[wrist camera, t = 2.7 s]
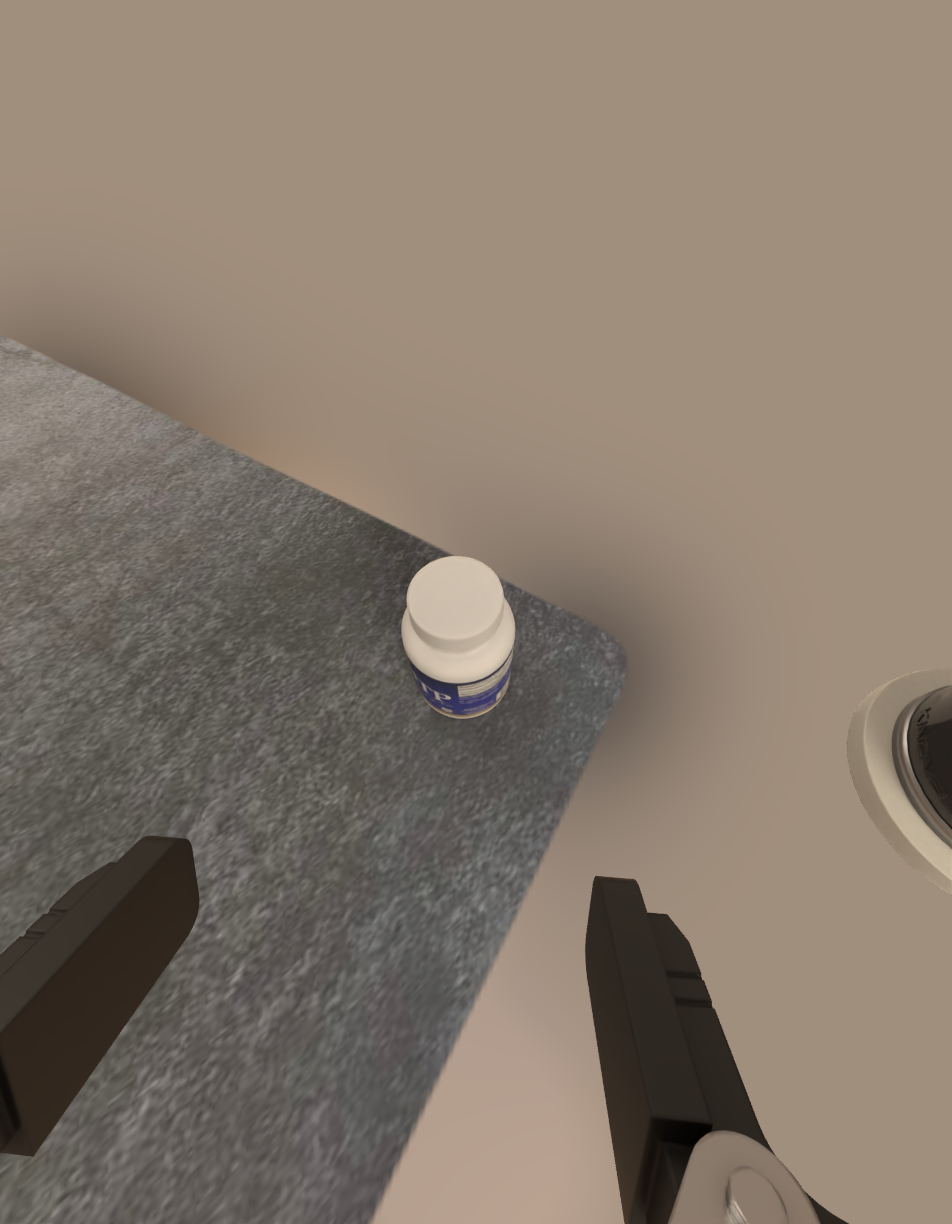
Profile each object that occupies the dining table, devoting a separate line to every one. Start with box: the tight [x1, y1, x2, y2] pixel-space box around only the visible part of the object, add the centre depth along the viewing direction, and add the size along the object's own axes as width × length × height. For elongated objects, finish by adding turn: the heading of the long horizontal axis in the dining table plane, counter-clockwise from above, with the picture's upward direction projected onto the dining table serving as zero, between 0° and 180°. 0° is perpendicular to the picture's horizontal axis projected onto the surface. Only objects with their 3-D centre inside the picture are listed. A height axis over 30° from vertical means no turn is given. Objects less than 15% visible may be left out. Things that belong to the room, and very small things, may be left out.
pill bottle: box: [401, 556, 515, 718], centre depth 24 cm, size 5×5×9 cm
